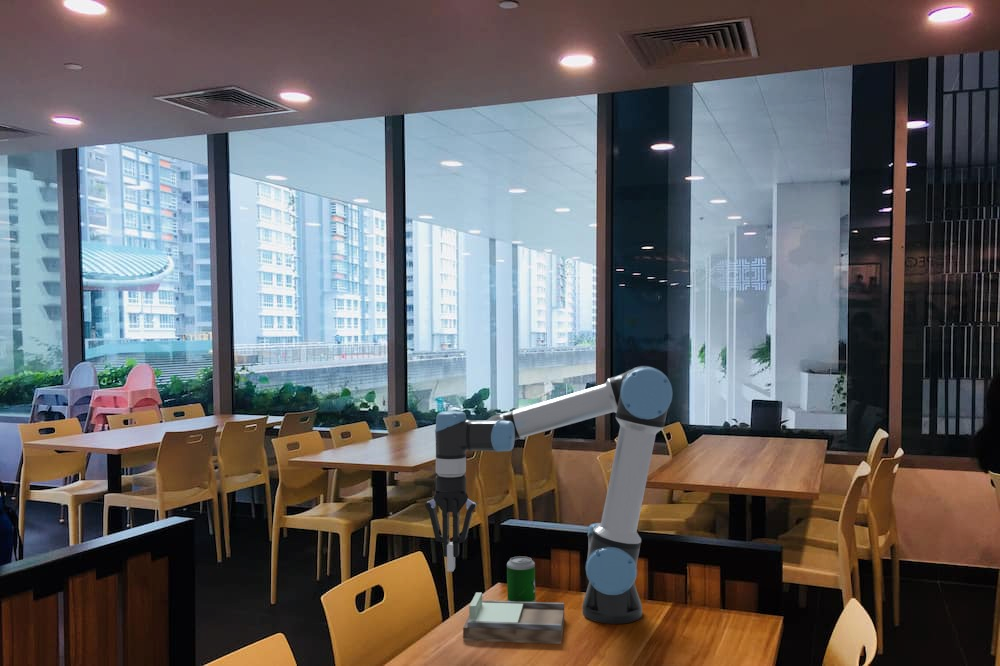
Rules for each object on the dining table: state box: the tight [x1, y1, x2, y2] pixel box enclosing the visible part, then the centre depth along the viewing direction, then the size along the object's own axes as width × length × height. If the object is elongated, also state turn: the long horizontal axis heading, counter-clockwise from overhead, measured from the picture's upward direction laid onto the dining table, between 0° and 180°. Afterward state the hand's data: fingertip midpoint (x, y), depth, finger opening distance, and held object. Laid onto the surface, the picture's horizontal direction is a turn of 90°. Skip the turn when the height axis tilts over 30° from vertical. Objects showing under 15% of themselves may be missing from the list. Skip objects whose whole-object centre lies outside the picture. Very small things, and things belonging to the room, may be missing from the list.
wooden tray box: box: [462, 599, 565, 645], centre depth 188 cm, size 23×16×4 cm
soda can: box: [506, 555, 536, 602], centre depth 206 cm, size 8×8×12 cm
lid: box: [468, 592, 523, 623], centre depth 189 cm, size 12×13×4 cm
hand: (451, 569), depth 190 cm, fingers closed
